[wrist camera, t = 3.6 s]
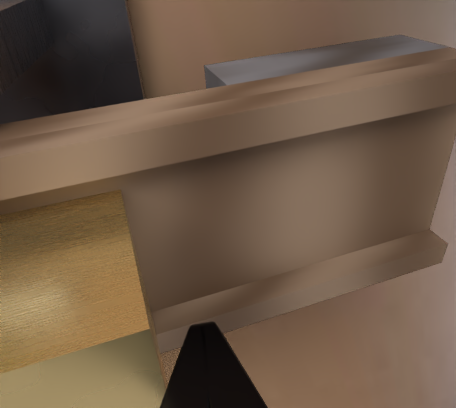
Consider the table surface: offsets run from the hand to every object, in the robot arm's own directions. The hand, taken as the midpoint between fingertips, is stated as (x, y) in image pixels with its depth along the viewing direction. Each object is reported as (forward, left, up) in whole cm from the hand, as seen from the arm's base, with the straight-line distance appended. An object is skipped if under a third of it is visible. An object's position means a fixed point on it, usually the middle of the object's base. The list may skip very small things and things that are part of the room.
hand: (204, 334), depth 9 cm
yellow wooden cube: (+4, 0, -3) cm, 5 cm away
